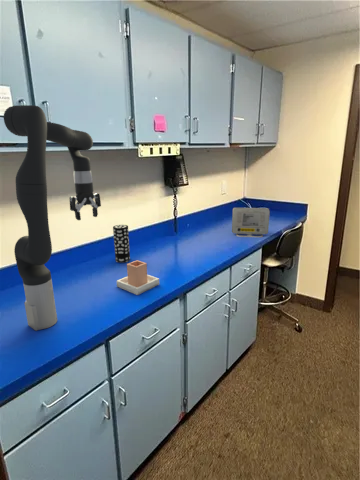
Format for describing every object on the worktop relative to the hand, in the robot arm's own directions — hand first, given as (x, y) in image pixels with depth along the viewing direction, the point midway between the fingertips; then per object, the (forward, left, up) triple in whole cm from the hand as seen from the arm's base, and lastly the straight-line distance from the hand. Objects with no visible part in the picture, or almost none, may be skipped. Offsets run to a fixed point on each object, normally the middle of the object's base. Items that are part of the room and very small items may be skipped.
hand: (87, 218), depth 137 cm
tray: (+12, -18, -32) cm, 39 cm away
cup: (+12, -18, -31) cm, 38 cm away
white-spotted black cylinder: (+30, +14, -32) cm, 46 cm away
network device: (+121, -20, -32) cm, 127 cm away
